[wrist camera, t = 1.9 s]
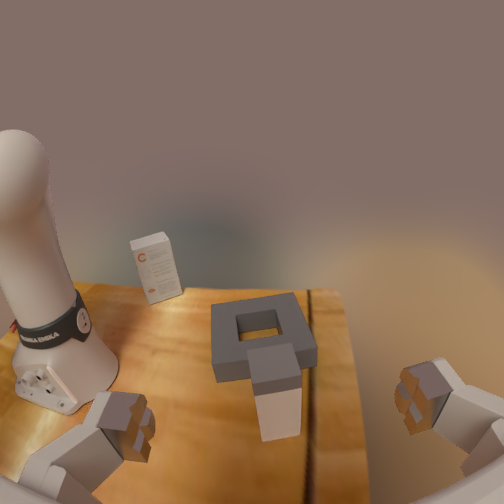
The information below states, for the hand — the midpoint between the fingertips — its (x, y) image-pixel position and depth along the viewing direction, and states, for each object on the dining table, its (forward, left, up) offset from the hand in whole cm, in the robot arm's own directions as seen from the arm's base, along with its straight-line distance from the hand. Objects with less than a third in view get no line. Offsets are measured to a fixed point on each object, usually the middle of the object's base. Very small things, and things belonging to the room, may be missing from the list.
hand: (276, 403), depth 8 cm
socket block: (+2, +30, -25) cm, 40 cm away
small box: (-17, +50, -26) cm, 59 cm away
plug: (+2, +14, -26) cm, 29 cm away
